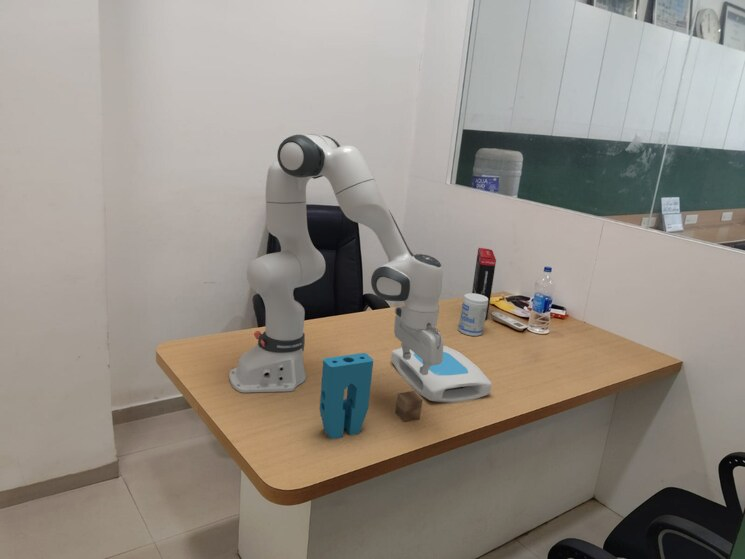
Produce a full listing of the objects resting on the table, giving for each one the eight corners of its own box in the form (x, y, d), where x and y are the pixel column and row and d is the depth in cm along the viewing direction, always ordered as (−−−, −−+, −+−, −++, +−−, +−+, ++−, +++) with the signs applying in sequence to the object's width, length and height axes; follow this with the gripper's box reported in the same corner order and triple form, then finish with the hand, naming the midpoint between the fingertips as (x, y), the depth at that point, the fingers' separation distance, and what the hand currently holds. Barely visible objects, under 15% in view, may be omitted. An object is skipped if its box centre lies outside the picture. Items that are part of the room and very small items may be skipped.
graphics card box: (487, 321, 228) (498, 258, 220) (471, 319, 228) (481, 256, 220) (483, 307, 244) (493, 249, 236) (468, 305, 245) (477, 247, 237)
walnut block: (403, 422, 146) (405, 402, 144) (395, 412, 150) (397, 393, 149) (419, 419, 148) (422, 400, 146) (411, 410, 152) (413, 391, 151)
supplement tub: (454, 332, 212) (460, 296, 208) (462, 325, 220) (467, 291, 216) (478, 339, 208) (484, 302, 204) (485, 331, 216) (491, 296, 212)
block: (358, 421, 144) (365, 352, 138) (367, 431, 140) (374, 360, 134) (316, 430, 138) (322, 358, 133) (324, 440, 134) (330, 367, 128)
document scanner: (444, 358, 189) (447, 341, 187) (490, 398, 164) (494, 379, 162) (389, 363, 180) (391, 346, 178) (429, 406, 156) (432, 386, 154)
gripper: (452, 331, 133) (445, 382, 137) (412, 303, 151) (407, 349, 155) (430, 333, 131) (423, 385, 134) (392, 305, 148) (387, 351, 152)
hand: (414, 366), depth 145 cm, fingers open, 8 cm apart
